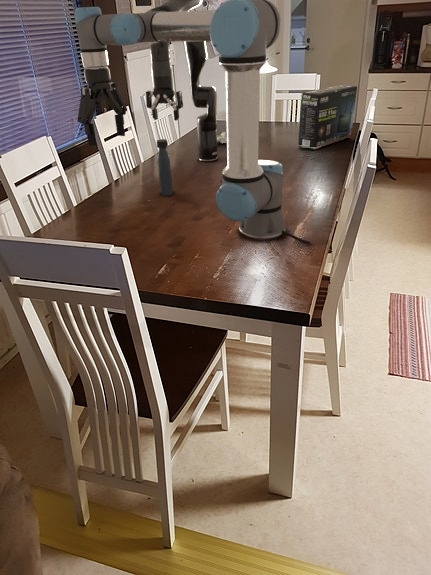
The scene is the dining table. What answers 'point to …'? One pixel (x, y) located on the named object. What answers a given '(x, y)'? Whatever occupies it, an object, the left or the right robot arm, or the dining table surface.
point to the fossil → (222, 137)
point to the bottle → (164, 172)
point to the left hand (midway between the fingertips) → (166, 119)
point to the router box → (326, 115)
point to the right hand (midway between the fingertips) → (107, 140)
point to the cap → (162, 143)
